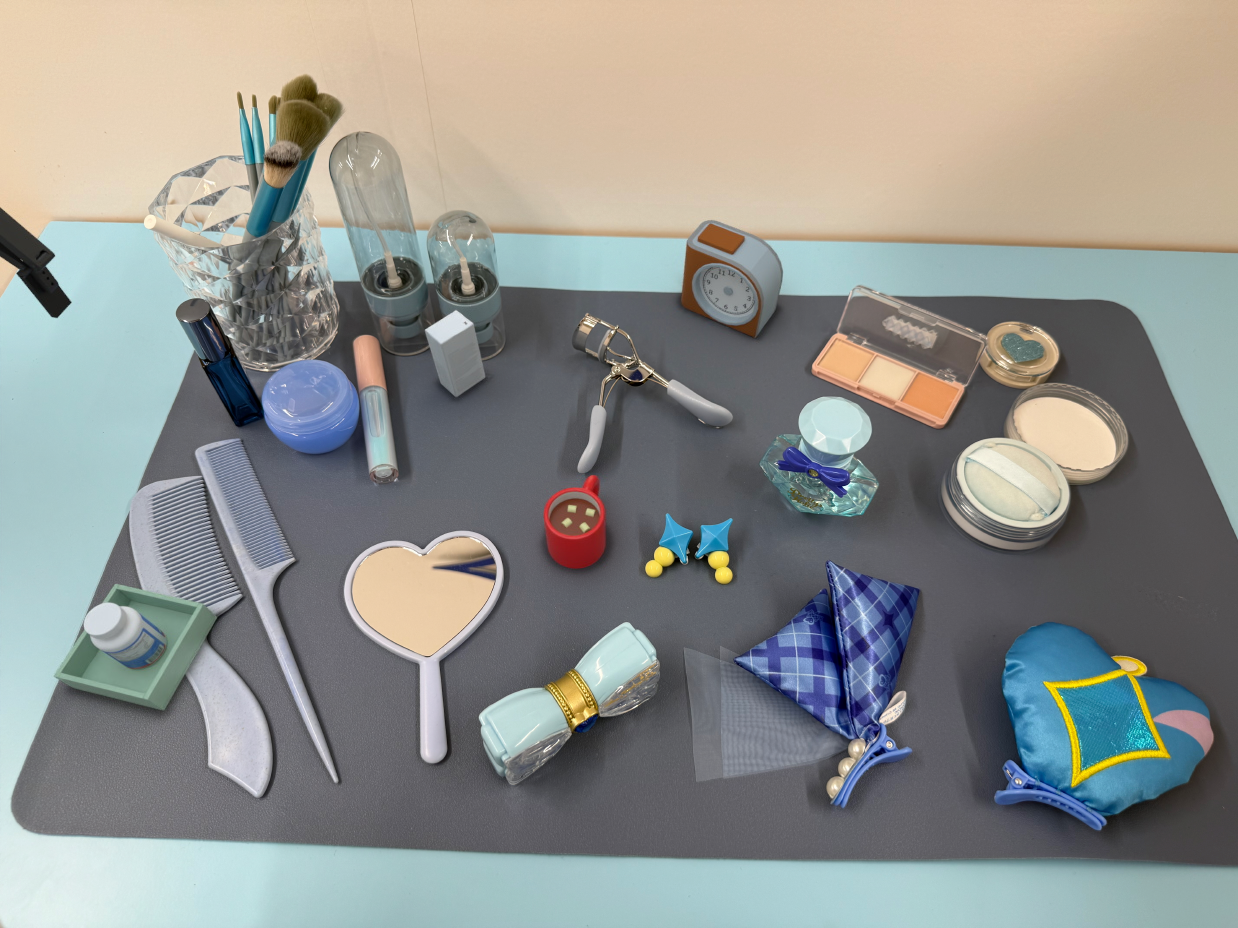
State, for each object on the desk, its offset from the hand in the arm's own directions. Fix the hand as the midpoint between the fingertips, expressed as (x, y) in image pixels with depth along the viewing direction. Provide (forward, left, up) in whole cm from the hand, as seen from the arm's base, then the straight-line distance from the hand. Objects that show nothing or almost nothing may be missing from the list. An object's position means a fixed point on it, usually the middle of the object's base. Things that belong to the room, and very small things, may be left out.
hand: (10, 300), depth 90 cm
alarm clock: (+81, +49, -29) cm, 99 cm away
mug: (+68, +1, -29) cm, 74 cm away
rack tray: (+20, -28, -29) cm, 45 cm away
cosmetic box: (+43, +23, -29) cm, 56 cm away
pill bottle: (+20, -28, -28) cm, 44 cm away
